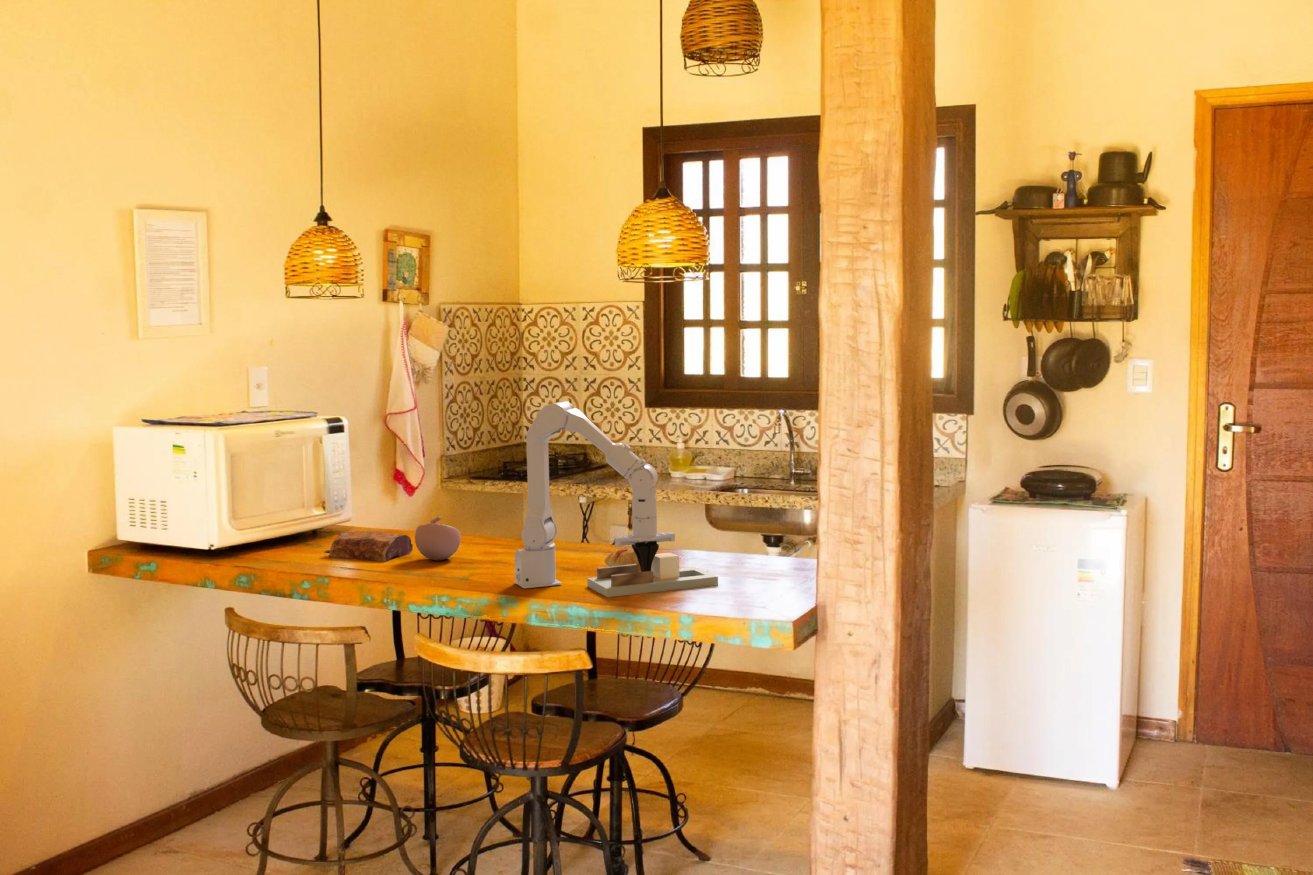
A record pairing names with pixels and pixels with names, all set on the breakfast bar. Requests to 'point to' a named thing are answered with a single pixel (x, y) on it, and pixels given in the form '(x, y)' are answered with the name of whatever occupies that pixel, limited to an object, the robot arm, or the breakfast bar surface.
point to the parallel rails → (624, 575)
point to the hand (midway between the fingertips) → (645, 573)
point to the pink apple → (437, 540)
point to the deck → (656, 583)
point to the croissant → (623, 558)
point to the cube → (665, 565)
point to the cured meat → (370, 546)
